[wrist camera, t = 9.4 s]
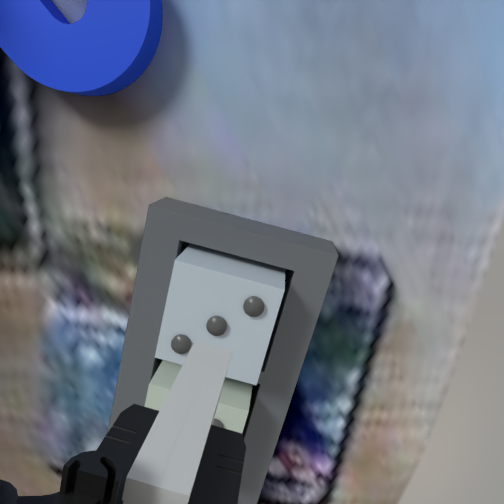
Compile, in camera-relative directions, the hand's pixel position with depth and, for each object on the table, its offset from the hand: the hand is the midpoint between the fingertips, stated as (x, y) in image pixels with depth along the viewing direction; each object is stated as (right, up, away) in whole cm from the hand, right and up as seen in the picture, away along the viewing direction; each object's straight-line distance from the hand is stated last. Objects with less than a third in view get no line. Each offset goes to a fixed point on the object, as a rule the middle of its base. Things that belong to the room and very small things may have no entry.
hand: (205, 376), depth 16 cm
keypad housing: (-1, -4, +11) cm, 12 cm away
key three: (0, +2, +7) cm, 8 cm away
